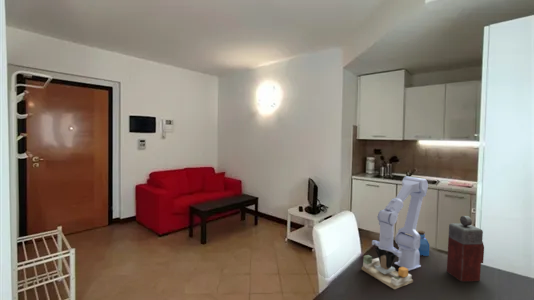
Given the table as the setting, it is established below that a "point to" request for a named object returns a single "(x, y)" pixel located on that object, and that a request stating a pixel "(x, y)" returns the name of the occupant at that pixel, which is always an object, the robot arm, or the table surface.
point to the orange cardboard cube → (403, 272)
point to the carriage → (384, 266)
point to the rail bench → (389, 278)
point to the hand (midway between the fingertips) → (385, 265)
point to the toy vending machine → (465, 250)
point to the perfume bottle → (423, 244)
